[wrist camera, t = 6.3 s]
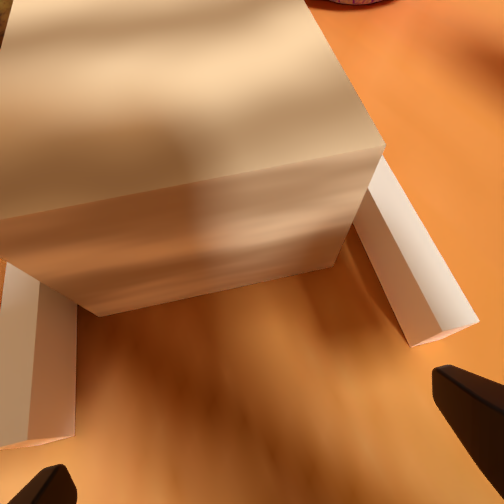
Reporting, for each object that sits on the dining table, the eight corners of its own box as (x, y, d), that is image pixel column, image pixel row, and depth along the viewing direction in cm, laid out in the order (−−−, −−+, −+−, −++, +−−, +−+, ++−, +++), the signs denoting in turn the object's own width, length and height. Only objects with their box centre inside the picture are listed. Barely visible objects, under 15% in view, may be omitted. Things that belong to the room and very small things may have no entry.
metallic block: (332, 268, 17) (386, 144, 9) (101, 318, 16) (-48, 228, 8) (262, 80, 24) (261, -75, 16) (102, 108, 23) (24, -41, 16)
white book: (440, 339, 15) (496, 313, 11) (38, 445, 13) (-45, 455, 10) (293, 51, 25) (297, -9, 22) (61, 94, 24) (25, 38, 20)
